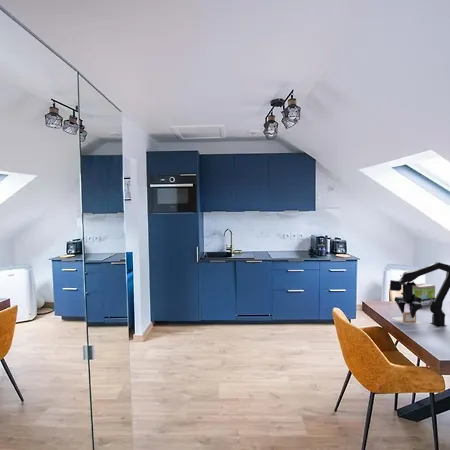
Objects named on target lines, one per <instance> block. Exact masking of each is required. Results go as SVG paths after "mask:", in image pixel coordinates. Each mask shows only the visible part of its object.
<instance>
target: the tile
mask: <svg viewBox="0 0 450 450" xmlns="http://www.w3.org/2000/svg"><path fill="white" fill-rule="evenodd" d="M402 317H403V322H416V321H417V313H416V314H415V316H414V318H412V317H411V313H410V311H404V312H403V314H402Z"/></svg>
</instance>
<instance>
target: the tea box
mask: <svg viewBox="0 0 450 450" xmlns="http://www.w3.org/2000/svg"><path fill="white" fill-rule="evenodd" d="M415 284H416V286H413V294H415V296H416V297H419V298H421V299H422V300H421V303H420V304H421V305H422V307H423V306H429V305H428V303H429V302H430V300H431V299H433V300H434V299H435V298H436V285H434V284H429V283H426V282H422V283H415ZM415 302H416V301H415ZM415 302H413V303H415ZM417 303H419V302H417Z"/></svg>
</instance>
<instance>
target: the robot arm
mask: <svg viewBox="0 0 450 450" xmlns="http://www.w3.org/2000/svg"><path fill="white" fill-rule="evenodd" d="M437 270H441V271H444V272H446V273H445V279H444V280H443V282H442V284H441V286H440V289H439V290H438V291H437V292H438V293H437V294H436V295H435V299H434V300H433V299H431V300H430V302H429V303H428V305H427V306H428V309H429V311H430V312H431V313H432V315H431V318H432V319H431V322H430V324H431V325H433V326H435V327H437V328H441V327H447V324H446V322H445V321H446V319H445V318H446V314H445V312H444V311H443V310H442V308H443V302H444V300H445V298H446V297H447V295H448V293H449V291H450V265H449V264H445V263H442V262H440V261H435V262H434V263H430V264H429V265H426V266H423V267H421V268H418V269H415V270H409V271H405V272H403V273H402V277H400V279H399V280H395V279H394V280H393V279H391V280H390V281H389V282H390V283H389V290H390V291H393V292H395V291H396V292H400V291H401V290H402V292H401V293H400V294H401V295H402V296H395V297H394V300H393V301H394V302H395V304H397V306H398V309H399V310H400V312H401V315H403V312H405V307H406V304H407V305H408V306H409V308H408V309H409V312H410V313H411V317H412V318H414V316H415V314H416V315H417V312H418V310H422V309H423V306H422V305H421V304H420V303H421V300H422V299H421V298H419V297H416V296H415V294H413V286H416V284H417V283H415V281H414V280H416V279H418V278H419V277H422V276H423V275H427V274H429V273H432V272H435V271H437ZM415 301H416V302H415ZM413 302H415V303H413ZM417 302H419V303H417Z"/></svg>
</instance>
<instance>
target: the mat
mask: <svg viewBox="0 0 450 450" xmlns="http://www.w3.org/2000/svg"><path fill="white" fill-rule="evenodd" d="M392 319H393V320H395V321H397V322H399V323H401V324H402V325H405V326H409V325H424V324H423V323H422V322H421V321H419V320H416V322H403V316H398V317H396V316H395V317H392Z"/></svg>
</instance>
